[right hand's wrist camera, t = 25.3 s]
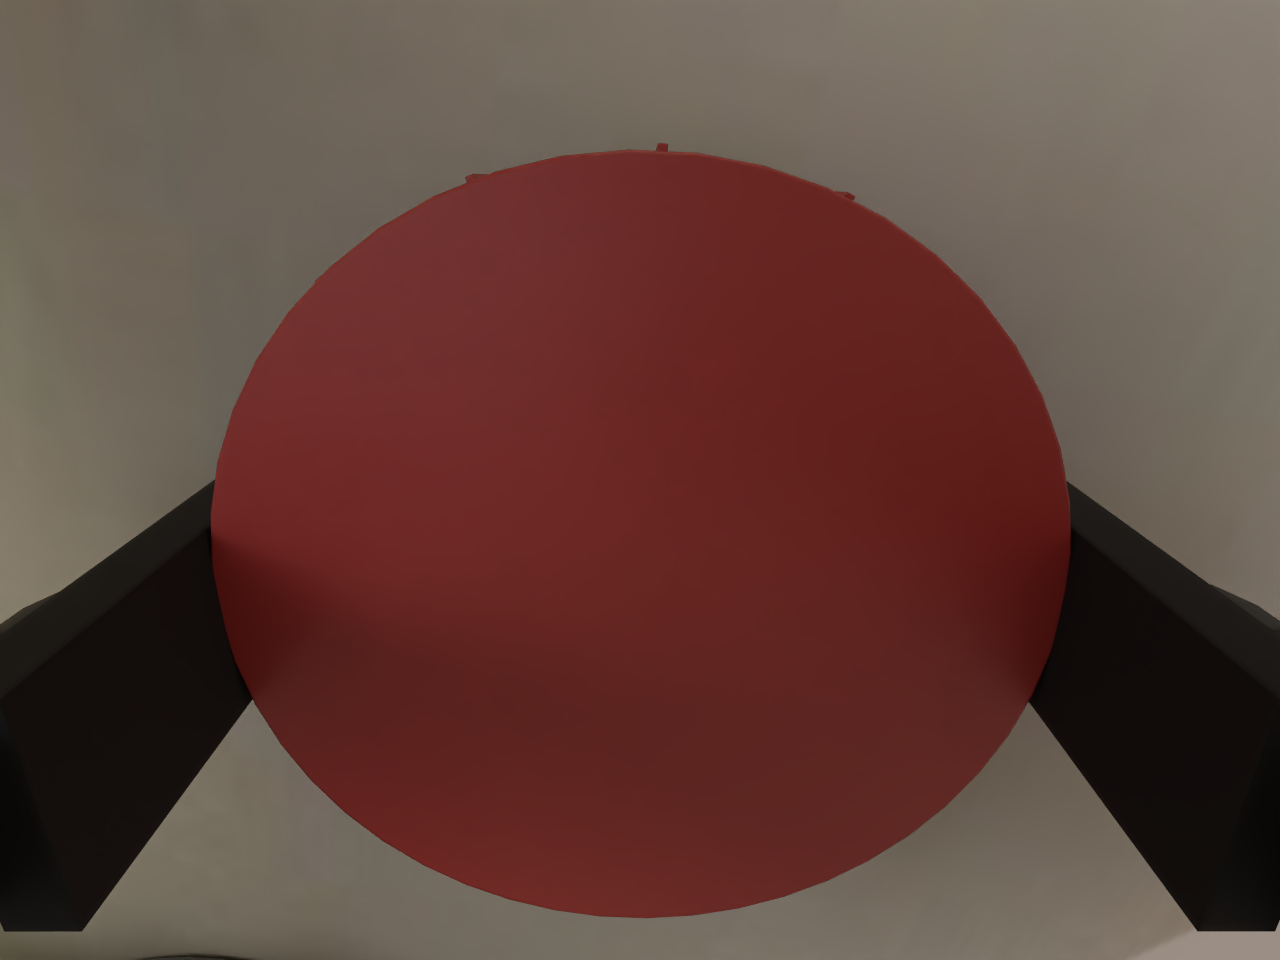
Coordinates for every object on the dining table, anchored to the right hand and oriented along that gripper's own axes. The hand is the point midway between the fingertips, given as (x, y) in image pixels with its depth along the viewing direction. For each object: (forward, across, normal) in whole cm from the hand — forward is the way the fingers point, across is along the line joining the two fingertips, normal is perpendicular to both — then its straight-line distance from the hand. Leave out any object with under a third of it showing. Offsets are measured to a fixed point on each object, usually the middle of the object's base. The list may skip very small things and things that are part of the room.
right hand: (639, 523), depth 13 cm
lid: (-3, 0, 0) cm, 3 cm away
